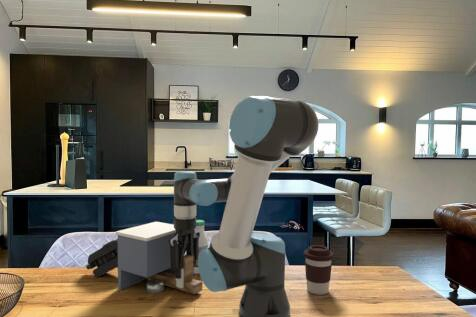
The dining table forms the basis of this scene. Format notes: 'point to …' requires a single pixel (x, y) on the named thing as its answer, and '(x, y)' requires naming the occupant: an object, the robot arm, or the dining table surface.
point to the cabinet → (143, 252)
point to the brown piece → (189, 282)
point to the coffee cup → (318, 269)
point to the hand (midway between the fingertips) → (184, 284)
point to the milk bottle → (200, 241)
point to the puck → (155, 286)
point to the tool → (104, 258)
